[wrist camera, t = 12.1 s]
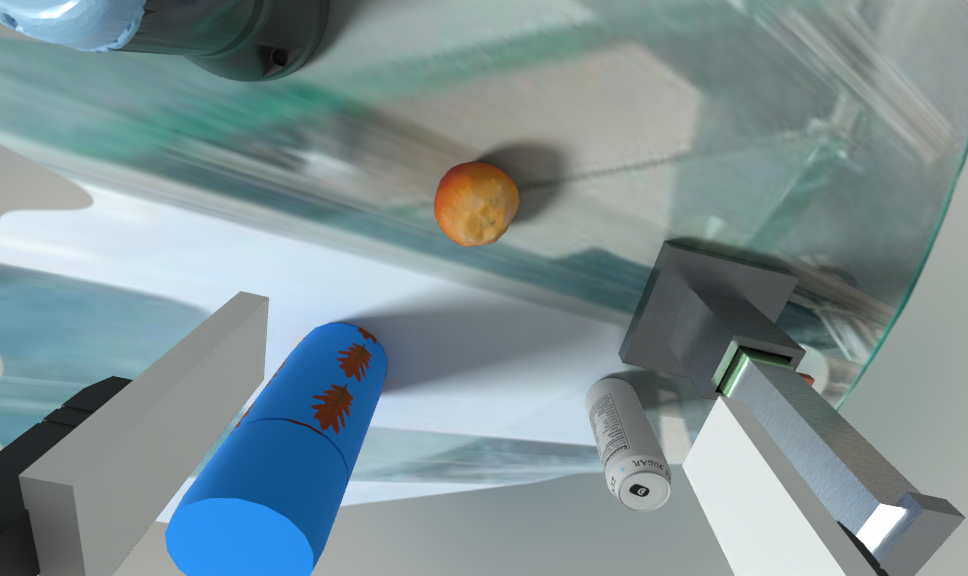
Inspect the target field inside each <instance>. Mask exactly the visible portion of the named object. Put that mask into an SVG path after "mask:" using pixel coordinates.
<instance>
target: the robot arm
mask: <svg viewBox="0 0 968 576" xmlns="http://www.w3.org/2000/svg"><path fill="white" fill-rule="evenodd" d="M328 9H329V0H0V22H1V23H3V24H4V25H6V26H8V27H9V28H11V29H14V30H17V31H18V32H20V33H22V34H25V35H28V36H30V37H33V38H35V39H38V40H41V41H45V42H50V43H55V44H60V45H64V46H69V47H73V48H75V49H78V50H83V51H86V52H98V53H101V52H102V51H103V52H109V51H124V52H139V53H154V54H168V55H183V56H184V57H186V58H187V59H188V60H190V61H191V62H193V63H194V64H196V65H197V66H199V67H201V68H202V69H204V70H206V71H208V72H210V73H213V74H215V75H218V76H220V77H224V78H227V79H231V80H236V81H246V82H259V81H270V80H275V79H278V78H281V77H284V76H286V75H288V74H290V73H292V72H294V71H295V70H297V69H298V68H299V67H301V66H302V65H303V64H304V63H305V62H306V61H307V60H308V59H309V58H310V56H311V55H312V54H313V52H314V51H315V49H316V48H317V46H318V44H319V42H320V40H321V38H322V35H323V33H324V30H325V26H326V22H327V17H328ZM268 303H269V297H265V296H260V295H256V294H251V293H246V292H242V291H240V292H239V293H238V294H237V295H235V296H234V297H233V298H232V299H231V300H229V301H228V302H227V303H226V304H225V305H223V306H222V307H221V308H220V309H219V310H217V311H216V312H215V313H214V314H213V315H211V316H210V317H209V318H208V319H207V320H205V321H204V322H203V323H202V324H201V325H199V326H198V327H197V328H196V329H195V330H193V331H192V332H191V333H190V334H188V335H187V336H186V337H185V338H184V339H182V340H181V341H180V342H179V343H178V344H176V345H175V346H174V347H173V348H172V349H170V350H169V351H168V352H167V353H166V354H164V355H163V356H162V357H161V358H160V359H158V360H157V361H156V362H155V363H154V364H152V365H151V366H150V367H149V368H148V369H146V370H145V371H144V372H143V373H142V374H140V375H139V376H138V377H137V378H135V379H134V380H130V379H125V378H120V377H115V376H112V377H110V378H107V379H105V380H102V381H100V382H98V383H95V384H93V385H91V386H88V387H86V388H84V389H82V390H81V391H80V392H78V393H77V394H76V395H74V396H73V397H72V398H70V399H69V400H68V401H66V402H65V403H64V404H62V405H61V408H60V409H56V410H54V411H53V412H52V413H50V414H49V415H48V416H46V417H45V418H44V419H43V420H42V422H41V423H37V424H36V425H34V426H33V427H32V428H30V429H29V430H28V431H26V432H25V433H24V434H22V435H21V436H20V437H18V438H17V439H16V440H14V441H13V442H12V443H10V444H9V445H8V446H6V447H5V448H4V449H2V450H1V451H0V576H37V575H39V576H112V575H113V574H114V573H115V571H116V570H117V569H118V568H119V566H120V565H121V564H122V562H123V561H124V560H125V558H126V557H127V556H128V555H129V553H130V551H132V549H133V548H134V547H135V546H136V544H137V543H138V542H139V540H140V539H141V538H142V537H143V535H144V534H145V533H146V531H147V530H148V529H149V527H150V526H151V525H152V524H153V522H154V521H155V520H156V518H157V517H158V516H159V515H160V513H161V512H162V511H163V509H164V508H165V507H166V505H167V504H168V503H169V502H170V500H171V499H172V498H173V496H174V495H175V494H176V493H177V491H178V490H179V489H180V487H181V486H182V485H183V483H184V482H185V481H186V480H187V478H188V477H189V476H190V474H191V473H192V472H193V471H194V469H195V468H196V467H197V465H198V464H199V463H200V461H201V460H202V459H203V458H204V456H205V455H206V454H207V452H208V451H209V450H210V449H211V447H212V446H213V445H214V443H215V442H216V441H217V439H218V438H219V437H220V436H221V434H222V433H223V432H224V430H225V429H226V428H227V427H228V425H229V424H230V423H231V421H232V420H233V419H234V417H235V416H236V415H237V414H238V412H239V411H240V410H241V408H242V407H243V406H244V405H245V403H246V402H247V401H248V399H249V398H250V397H251V395H252V394H253V393H254V392H255V390H256V389H257V388H258V386H259V385H260V384H261V383H262V381H263V380H264V367H265V351H266V335H267V319H268ZM682 466H683V469H684V470H685V473H686V475H687V477H688V479H689V481H690V483H691V485H692V487H693V489H694V491H695V494H696V495H697V497H698V500H699V502H700V504H701V506H702V508H703V510H704V512H705V514H706V516H707V518H708V521H709V523H710V525H711V527H712V529H713V531H714V533H715V535H716V537H717V539H718V541H719V543H720V545H721V547H722V550H723V552H724V554H725V556H726V558H727V560H728V562H729V564H730V566H731V568H732V570H733V572H734V574H735V576H889V575H888V573H887V572H886V571H885V570H884V569H882V568H880V563H879V562H878V561H877V560H876V558H875V557H874V556H873V555H872V553H871V552H870V551H869V549H868V548H867V547H866V546H865V544H864V543H863V542H862V541H861V540H860V539H859V538H858V537H856V536H855V535H854V534H853V533H852V532H851V531H850V530H849V529H847V528H846V527H845V526H844V525H843V524H842V523H841V522H840V521H836V520H835V519H834V518H833V517H832V515H831V514H830V513H829V511H828V510H827V509H826V507H825V506H824V505H823V504H822V502H821V501H820V500H819V498H818V497H817V496H816V495H815V493H814V492H813V491H812V489H811V488H810V487H809V485H808V484H807V483H806V482H805V480H804V479H803V478H802V476H801V475H800V474H799V472H798V471H797V470H796V469H795V467H794V466H793V465H792V463H791V462H790V461H789V459H788V458H787V457H786V456H785V454H784V453H783V452H782V450H781V449H780V448H779V446H778V445H777V444H776V443H775V441H774V440H773V439H772V437H771V436H770V435H769V433H768V432H767V431H766V430H765V428H764V427H763V426H762V424H761V423H760V422H759V420H758V419H757V418H756V417H755V415H754V414H753V413H752V411H751V410H750V409H749V407H748V406H747V405H746V404H745V402H744V401H741V400H736V399H732V398H727V397H723V396H719V397H718V399H717V401H716V403H715V405H714V407H713V408H712V410H711V412H710V414H709V416H708V418H707V420H706V422H705V424H704V425H703V427H702V429H701V431H700V433H699V435H698V437H697V439H696V441H695V443H694V444H693V446H692V448H691V450H690V452H689V454H688V456H687V458H686V460H685V462H684V463H683V465H682Z"/></svg>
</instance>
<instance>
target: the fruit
mask: <svg viewBox="0 0 968 576" xmlns="http://www.w3.org/2000/svg"><path fill="white" fill-rule="evenodd" d="M519 203H520V198H519V194H518V189H517V187H516V185H515V183H514V181H513V180H512V179H511V177H510V176H509V175H508V174H506V173H505V172H504V171H503V170H501V169H499V168H498V167H495V166H493V165H490V164H487V163H482V162H473V161H472V162H468V163H463V164H459V165H457V166H455V167H453V168H451V169H450V170H449V171H448V172H447V173H446V174H445V176H444V177H443V178H442V179H441V181H440V183H439V186H438V189H437V192H436V196H435V202H434V213H435V217H436V219H437V221H438V223H439V226H440V228H441V230H443V231H444V233H445V234H446V235H447V236H448V237H449V238H450V239H452V240H453V241H454V242H456V243H458V244H459V245H462V246H465V247H467V246H468V247H469V246H479V245H486V244H490V243H494V242H496V241H497V240H498V239H499V238H500V237H501V236H502V235H503V234H504V233H505V232H506V230H507V228H508V226H509V225H510V223H511V221H512V220H513V218H514V216H515V215H516V213H517V210H518V207H519Z"/></svg>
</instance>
